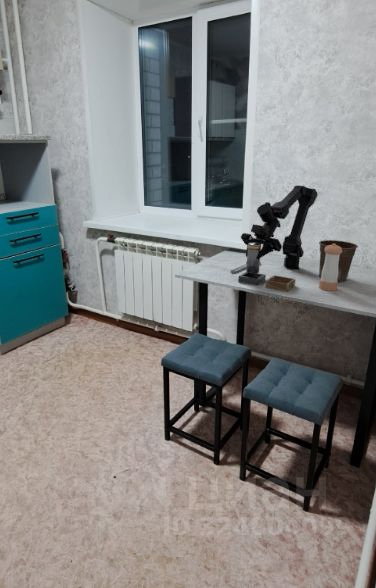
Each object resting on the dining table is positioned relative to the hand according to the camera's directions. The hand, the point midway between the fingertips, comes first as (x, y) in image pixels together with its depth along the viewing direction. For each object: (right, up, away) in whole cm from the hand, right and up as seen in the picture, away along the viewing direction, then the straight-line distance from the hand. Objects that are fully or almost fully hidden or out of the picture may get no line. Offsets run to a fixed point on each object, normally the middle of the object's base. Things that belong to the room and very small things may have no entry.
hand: (251, 257), depth 172 cm
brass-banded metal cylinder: (+1, -6, +3) cm, 7 cm away
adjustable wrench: (0, -3, +25) cm, 26 cm away
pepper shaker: (+32, -13, -3) cm, 35 cm away
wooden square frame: (+12, -13, -2) cm, 17 cm away
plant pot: (+39, -9, +11) cm, 41 cm away
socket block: (+1, -10, +5) cm, 11 cm away
